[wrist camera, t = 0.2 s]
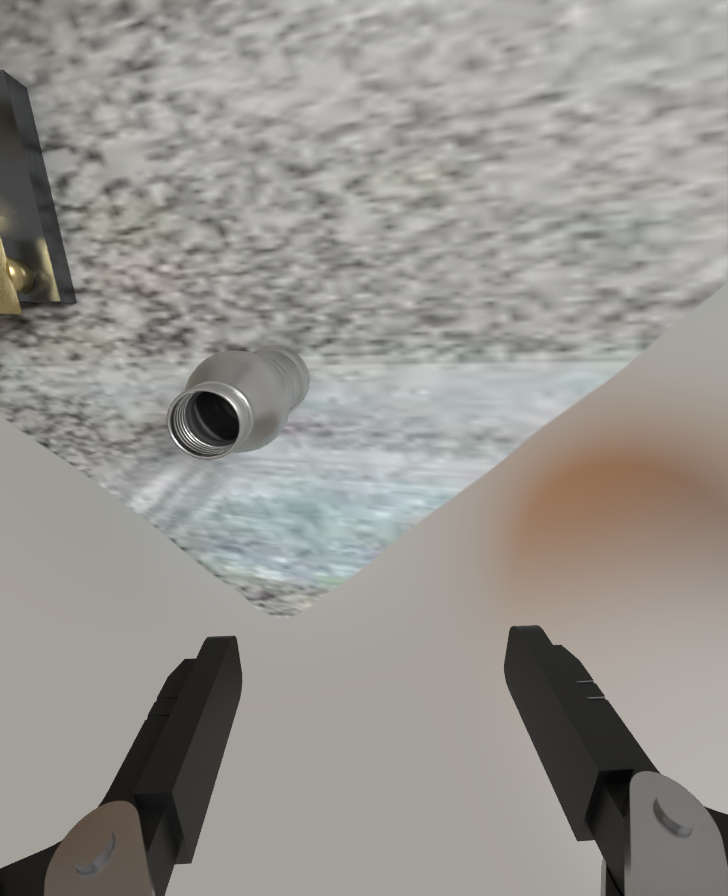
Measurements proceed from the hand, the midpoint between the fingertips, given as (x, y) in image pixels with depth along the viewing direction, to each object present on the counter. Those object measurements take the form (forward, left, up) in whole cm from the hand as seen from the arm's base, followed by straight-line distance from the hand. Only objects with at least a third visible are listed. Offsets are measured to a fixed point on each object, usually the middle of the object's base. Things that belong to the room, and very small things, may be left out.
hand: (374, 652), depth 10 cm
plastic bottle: (-5, -8, -29) cm, 31 cm away
